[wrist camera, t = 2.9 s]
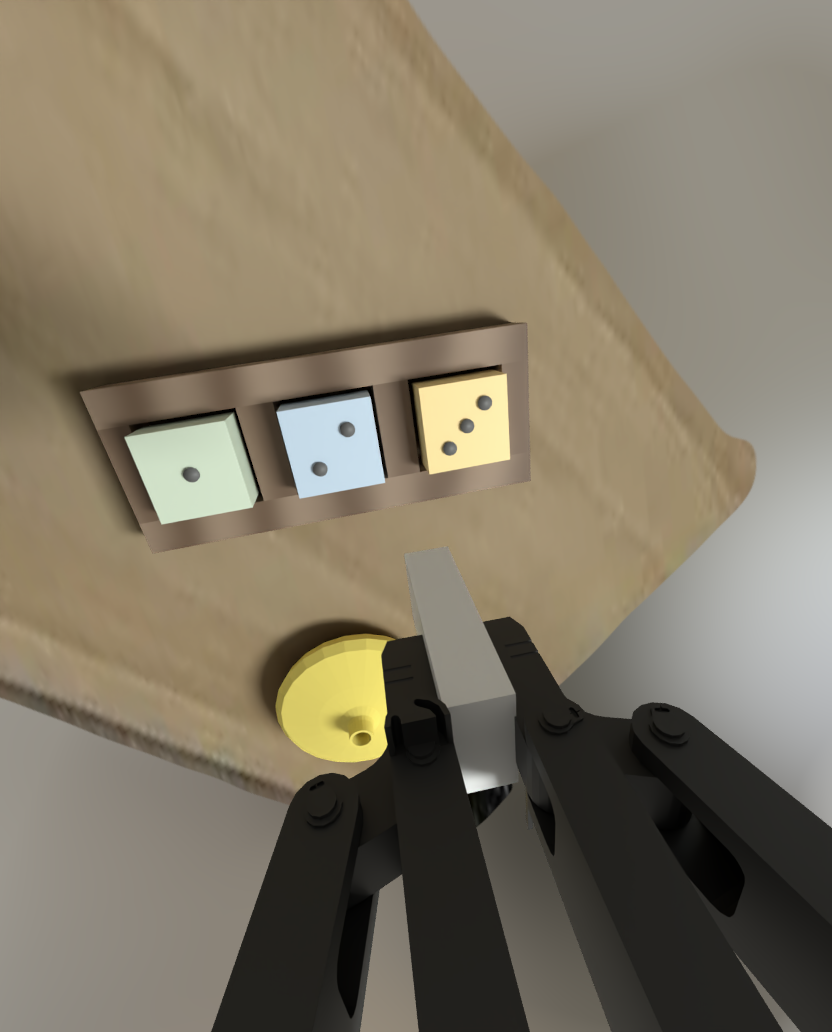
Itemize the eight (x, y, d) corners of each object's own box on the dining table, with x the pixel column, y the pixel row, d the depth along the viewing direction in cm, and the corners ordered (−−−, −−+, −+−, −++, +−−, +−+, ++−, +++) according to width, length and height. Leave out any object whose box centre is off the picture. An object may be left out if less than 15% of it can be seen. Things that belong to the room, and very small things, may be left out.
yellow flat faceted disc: (305, 602, 41) (300, 654, 34) (455, 637, 45) (475, 688, 39) (260, 724, 46) (248, 789, 39) (399, 743, 50) (409, 804, 44)
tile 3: (422, 462, 35) (429, 475, 32) (411, 382, 32) (419, 388, 29) (496, 448, 35) (511, 460, 33) (492, 369, 33) (507, 374, 30)
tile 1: (175, 507, 33) (160, 525, 30) (142, 426, 30) (122, 438, 27) (259, 492, 34) (252, 508, 31) (234, 411, 31) (224, 421, 28)
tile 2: (302, 484, 34) (299, 499, 31) (281, 403, 31) (276, 412, 28) (381, 469, 34) (385, 483, 32) (367, 389, 32) (370, 396, 29)
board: (166, 535, 36) (152, 553, 33) (101, 385, 31) (79, 391, 28) (516, 469, 39) (530, 480, 36) (511, 322, 34) (527, 322, 31)
